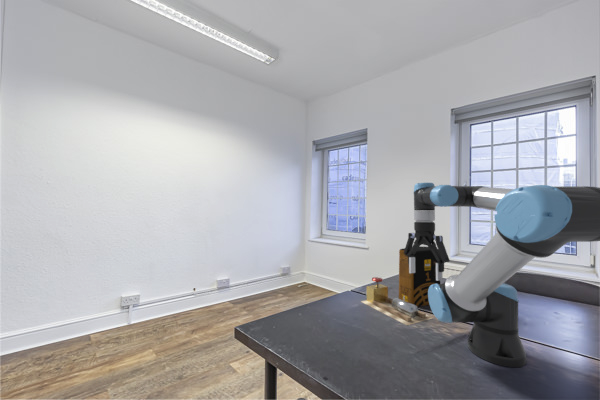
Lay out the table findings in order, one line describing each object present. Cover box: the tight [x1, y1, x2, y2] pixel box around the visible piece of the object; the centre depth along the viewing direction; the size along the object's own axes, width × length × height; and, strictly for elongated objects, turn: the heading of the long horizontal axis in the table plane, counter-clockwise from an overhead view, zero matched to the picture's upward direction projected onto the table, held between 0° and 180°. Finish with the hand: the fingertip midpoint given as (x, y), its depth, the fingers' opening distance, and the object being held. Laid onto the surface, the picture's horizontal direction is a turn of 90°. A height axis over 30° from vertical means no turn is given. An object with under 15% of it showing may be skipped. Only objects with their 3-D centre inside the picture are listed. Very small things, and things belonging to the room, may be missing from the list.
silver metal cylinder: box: [392, 297, 419, 317], centre depth 111 cm, size 10×5×5 cm, turn 26°
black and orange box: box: [398, 246, 441, 307], centre depth 125 cm, size 11×19×28 cm, turn 112°
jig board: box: [360, 297, 435, 326], centre depth 115 cm, size 28×16×3 cm, turn 26°
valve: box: [365, 276, 389, 303], centre depth 126 cm, size 8×9×11 cm
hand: (425, 276), depth 101 cm, fingers open, 11 cm apart
